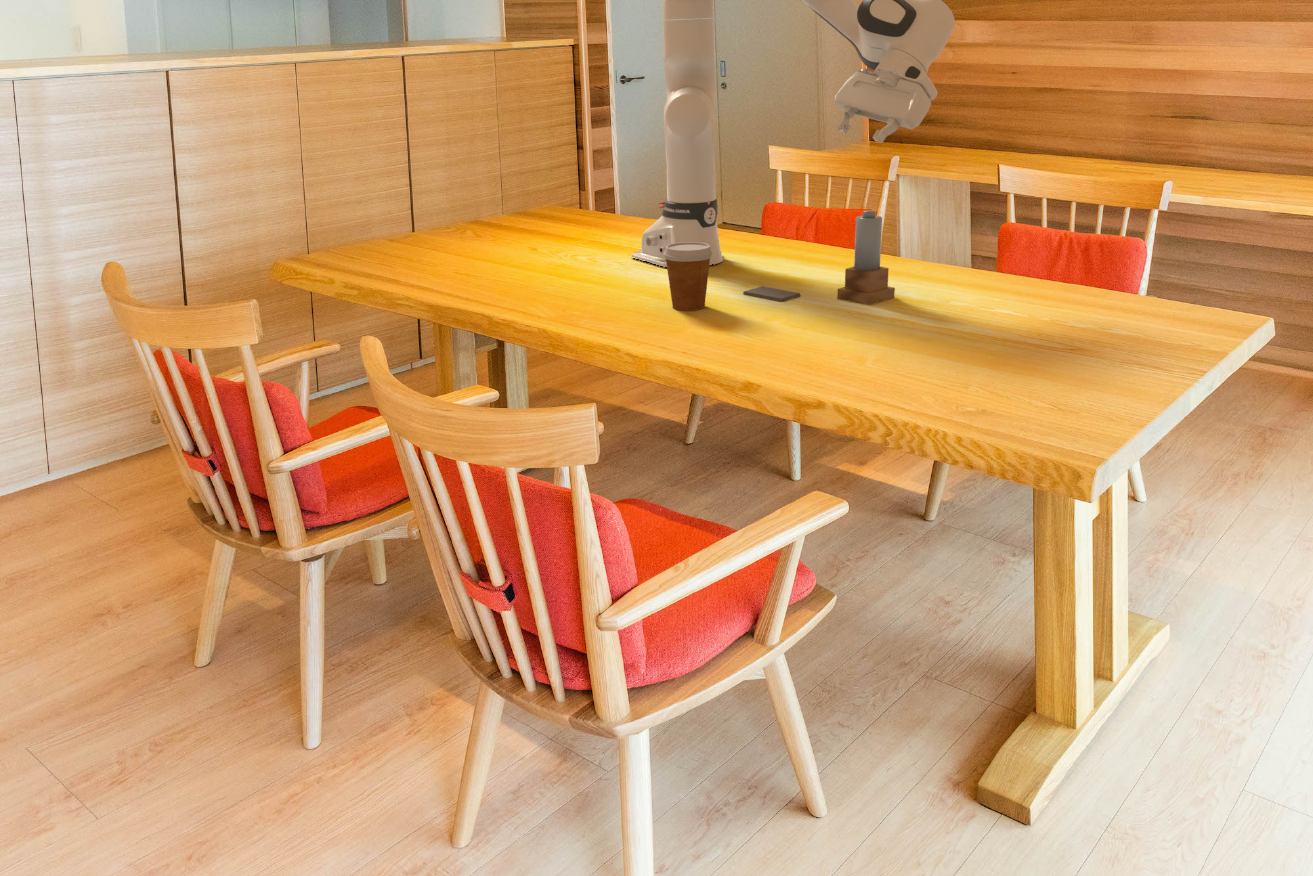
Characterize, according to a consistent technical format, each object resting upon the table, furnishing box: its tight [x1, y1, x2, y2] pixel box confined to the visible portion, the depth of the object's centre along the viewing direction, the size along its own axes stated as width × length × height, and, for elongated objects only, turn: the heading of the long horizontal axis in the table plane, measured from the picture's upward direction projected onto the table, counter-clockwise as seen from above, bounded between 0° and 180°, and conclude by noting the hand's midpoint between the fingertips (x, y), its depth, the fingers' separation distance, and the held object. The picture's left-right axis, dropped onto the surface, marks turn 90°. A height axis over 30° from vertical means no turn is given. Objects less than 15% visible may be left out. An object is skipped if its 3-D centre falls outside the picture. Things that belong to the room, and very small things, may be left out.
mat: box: [743, 285, 801, 302], centre depth 231 cm, size 10×6×1 cm, turn 44°
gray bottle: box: [853, 209, 883, 271], centre depth 222 cm, size 5×5×11 cm
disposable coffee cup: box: [663, 242, 713, 312], centre depth 221 cm, size 10×10×12 cm
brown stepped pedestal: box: [837, 266, 896, 306], centre depth 225 cm, size 8×8×6 cm
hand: (858, 135), depth 220 cm, fingers open, 8 cm apart
